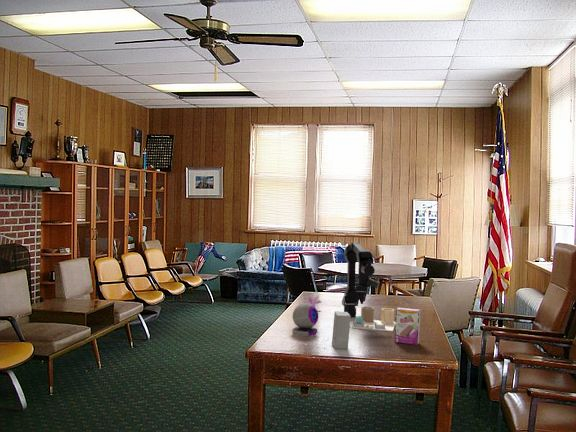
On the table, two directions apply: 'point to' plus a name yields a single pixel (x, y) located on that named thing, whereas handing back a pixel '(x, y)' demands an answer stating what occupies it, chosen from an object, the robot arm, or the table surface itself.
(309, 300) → the lily
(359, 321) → the teal ball
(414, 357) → the table surface
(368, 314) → the board
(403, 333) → the candy bar box
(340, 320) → the skincare box
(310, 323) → the eyeball
